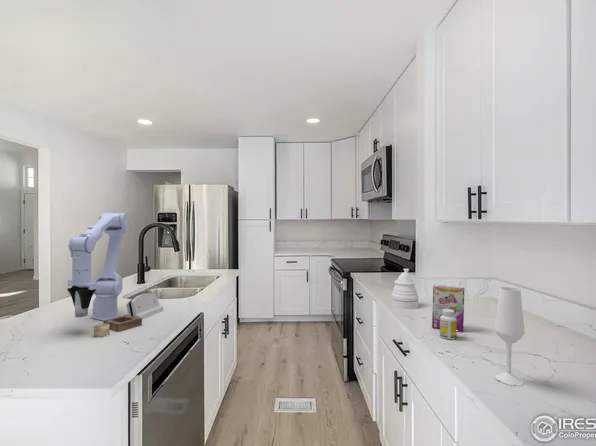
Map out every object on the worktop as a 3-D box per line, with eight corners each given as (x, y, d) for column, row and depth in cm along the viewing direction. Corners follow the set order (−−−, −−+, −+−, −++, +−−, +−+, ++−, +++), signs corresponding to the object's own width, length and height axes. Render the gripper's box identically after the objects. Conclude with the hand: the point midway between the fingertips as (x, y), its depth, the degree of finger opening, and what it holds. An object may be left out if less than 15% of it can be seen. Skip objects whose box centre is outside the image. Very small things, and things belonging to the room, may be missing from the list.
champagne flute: (490, 372, 94) (492, 285, 94) (518, 376, 92) (520, 287, 92) (497, 383, 87) (499, 290, 87) (527, 387, 85) (529, 292, 85)
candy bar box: (431, 328, 132) (432, 286, 132) (432, 324, 137) (433, 284, 137) (463, 332, 128) (464, 289, 128) (463, 329, 132) (464, 286, 132)
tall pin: (72, 316, 122) (72, 291, 122) (84, 313, 125) (84, 289, 125) (78, 317, 120) (79, 292, 120) (90, 315, 123) (90, 290, 123)
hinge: (139, 320, 138) (132, 297, 138) (130, 323, 139) (123, 300, 139) (164, 310, 154) (157, 289, 155) (155, 313, 155) (149, 292, 156)
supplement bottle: (455, 336, 124) (455, 309, 124) (457, 340, 119) (457, 312, 119) (439, 334, 126) (439, 307, 126) (440, 339, 121) (440, 311, 120)
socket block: (103, 327, 128) (103, 320, 128) (126, 321, 137) (126, 314, 137) (118, 331, 124) (118, 324, 124) (141, 324, 132) (141, 318, 132)
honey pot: (396, 301, 177) (396, 266, 177) (421, 305, 169) (422, 269, 169) (387, 306, 166) (387, 269, 166) (413, 310, 159) (414, 272, 159)
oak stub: (90, 336, 119) (90, 326, 119) (104, 332, 123) (104, 322, 123) (99, 338, 117) (99, 328, 117) (112, 334, 121) (112, 324, 121)
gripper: (58, 269, 122) (58, 307, 123) (81, 273, 115) (81, 312, 116) (79, 267, 129) (78, 303, 129) (102, 270, 122) (101, 308, 122)
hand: (81, 307), depth 123 cm, fingers closed on tall pin, 4 cm apart
